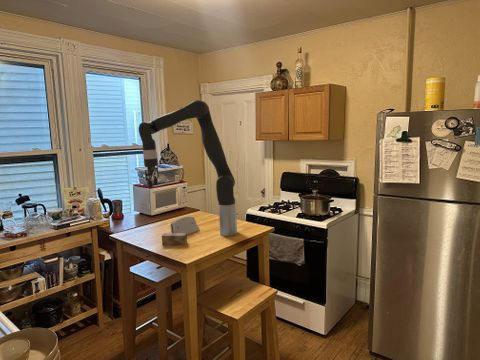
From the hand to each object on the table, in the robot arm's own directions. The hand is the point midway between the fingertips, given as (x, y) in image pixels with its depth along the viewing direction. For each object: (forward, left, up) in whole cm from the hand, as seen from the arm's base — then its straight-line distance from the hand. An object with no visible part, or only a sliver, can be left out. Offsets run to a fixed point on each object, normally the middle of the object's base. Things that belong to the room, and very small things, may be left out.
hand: (153, 186), depth 184 cm
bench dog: (-16, +18, -28) cm, 37 cm away
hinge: (-16, -1, -28) cm, 32 cm away
